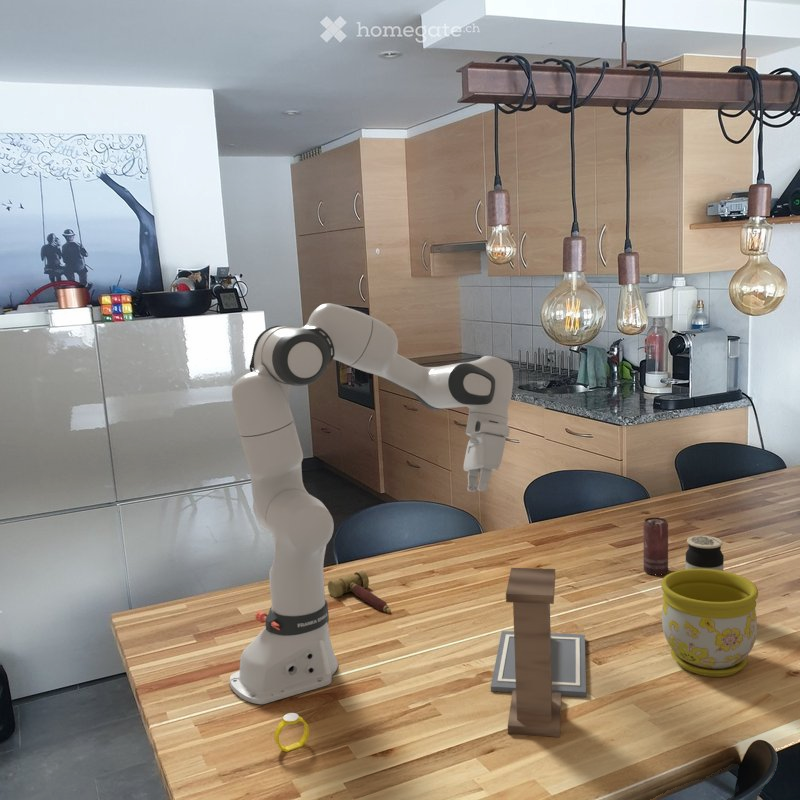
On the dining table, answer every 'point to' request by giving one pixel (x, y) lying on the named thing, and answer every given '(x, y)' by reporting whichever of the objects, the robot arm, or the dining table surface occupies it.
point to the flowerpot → (709, 620)
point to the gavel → (356, 589)
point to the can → (655, 546)
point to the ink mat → (563, 660)
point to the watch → (291, 719)
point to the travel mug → (704, 553)
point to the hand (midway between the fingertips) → (476, 491)
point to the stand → (533, 654)
